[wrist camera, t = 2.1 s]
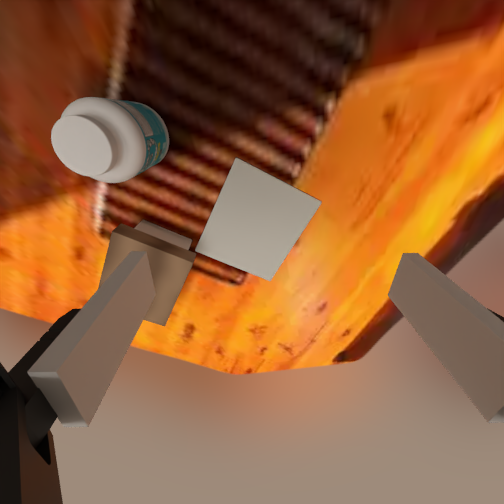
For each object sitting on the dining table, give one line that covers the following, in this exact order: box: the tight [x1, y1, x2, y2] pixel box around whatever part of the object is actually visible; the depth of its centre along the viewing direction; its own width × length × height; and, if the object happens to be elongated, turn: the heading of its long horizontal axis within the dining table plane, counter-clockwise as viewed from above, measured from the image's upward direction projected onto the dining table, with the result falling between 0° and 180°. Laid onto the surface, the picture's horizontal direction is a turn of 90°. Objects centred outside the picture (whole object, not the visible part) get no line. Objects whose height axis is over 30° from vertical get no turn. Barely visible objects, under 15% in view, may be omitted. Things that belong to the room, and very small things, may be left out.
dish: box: [134, 220, 192, 250], centre depth 39 cm, size 8×11×5 cm
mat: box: [195, 157, 322, 281], centre depth 38 cm, size 14×16×1 cm
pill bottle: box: [51, 97, 169, 183], centre depth 26 cm, size 8×7×14 cm
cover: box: [98, 224, 196, 326], centre depth 35 cm, size 10×13×3 cm
